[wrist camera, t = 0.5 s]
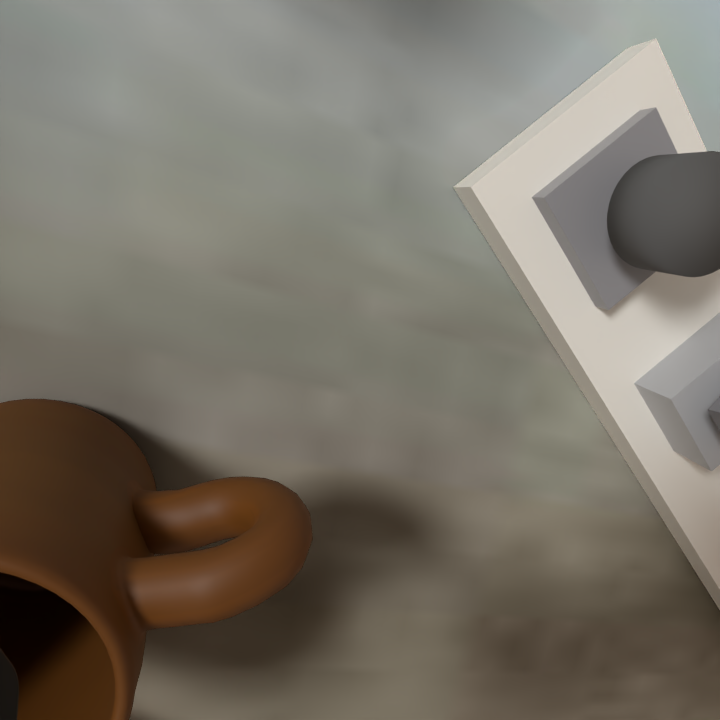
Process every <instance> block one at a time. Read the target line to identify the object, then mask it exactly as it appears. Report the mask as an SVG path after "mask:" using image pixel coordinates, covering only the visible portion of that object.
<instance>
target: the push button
mask: <svg viewBox="0 0 720 720" xmlns="http://www.w3.org/2000/svg"><path fill="white" fill-rule="evenodd" d="M607 229H608V235H609V238H610V241H611V244H612V246H613V248H614V250H615V251H616V253H617V254H618V255H619V257H620V258H621V259H622V260H624V261H625V262H626V263H628V264H629V265H631V266H633V267H636V268H640V269H645V270H650V271H656V272H662V273H668V274H673V275H679V276H685V277H701V276H705V275H708V274H711V273H713V272H715V271H717V270H719V269H720V152H715V151H706V152H693V153H680V154H667V155H656V156H651V157H648V158H645V159H643V160H641V161H639V162H638V163H636V164H635V165H634V166H632V167H631V168H630V169H629V170H628V171H627V172H626V173H625V174H624V175H623V176H622V178H621V179H620V181H619V182H618V183H617V185H616V187H615V189H614V191H613V194H612V196H611V199H610V202H609V206H608V212H607Z"/></svg>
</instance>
